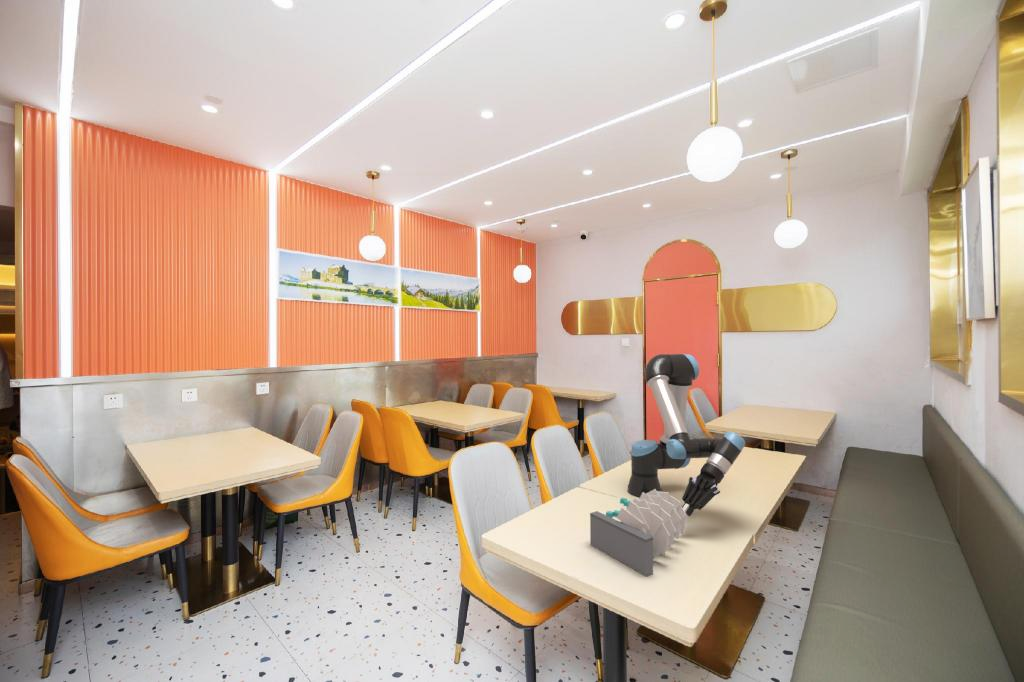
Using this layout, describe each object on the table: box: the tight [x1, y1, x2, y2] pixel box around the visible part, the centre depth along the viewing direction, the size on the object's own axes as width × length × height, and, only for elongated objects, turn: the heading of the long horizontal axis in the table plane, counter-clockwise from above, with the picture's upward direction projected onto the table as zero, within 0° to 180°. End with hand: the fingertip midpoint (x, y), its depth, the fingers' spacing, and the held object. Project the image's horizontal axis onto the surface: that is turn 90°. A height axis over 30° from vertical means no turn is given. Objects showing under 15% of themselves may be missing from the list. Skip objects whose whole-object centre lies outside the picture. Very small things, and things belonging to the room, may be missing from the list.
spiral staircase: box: [616, 489, 687, 560], centre depth 145 cm, size 18×18×25 cm
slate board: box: [589, 511, 654, 577], centre depth 138 cm, size 24×3×11 cm, turn 32°
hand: (679, 520), depth 153 cm, fingers closed
